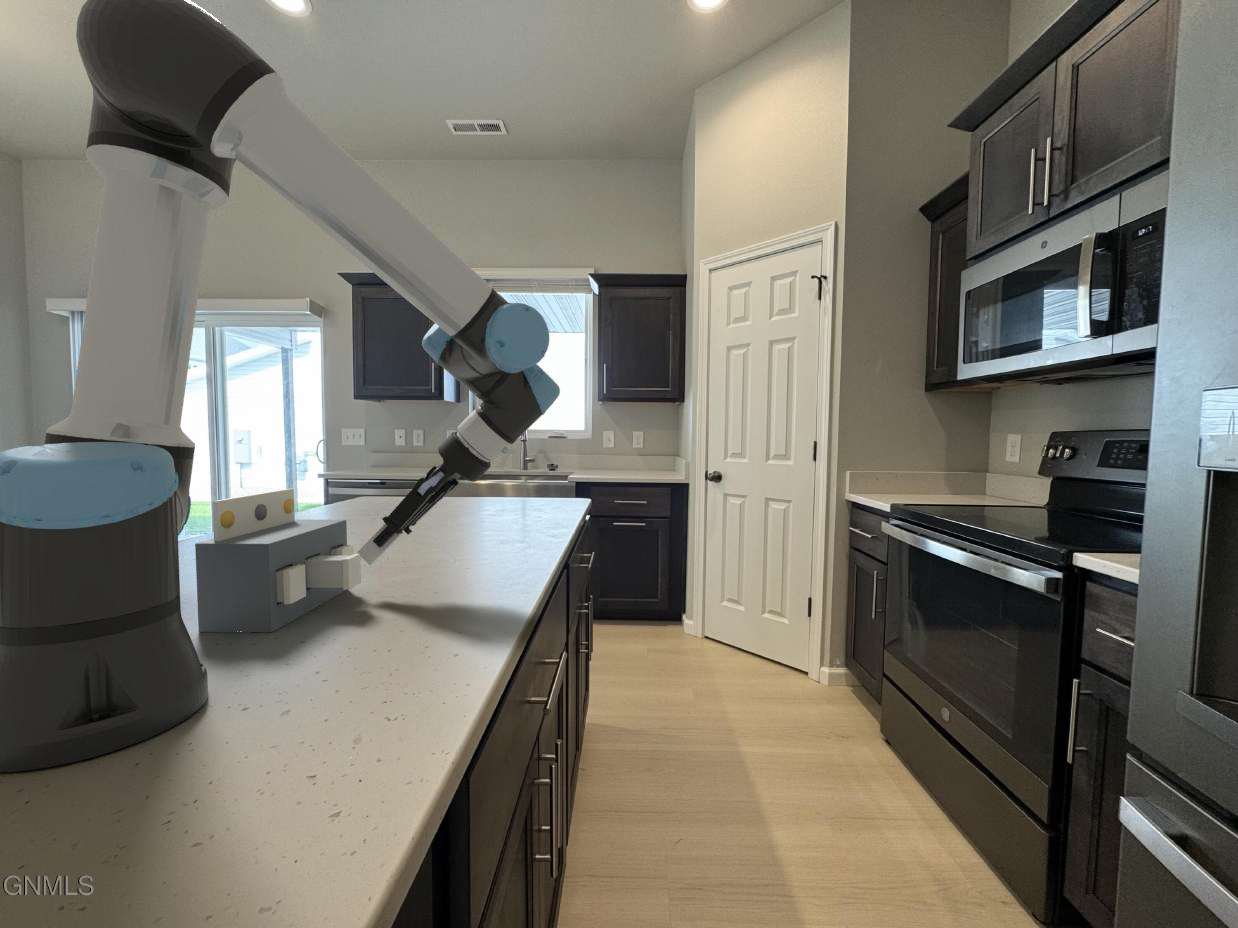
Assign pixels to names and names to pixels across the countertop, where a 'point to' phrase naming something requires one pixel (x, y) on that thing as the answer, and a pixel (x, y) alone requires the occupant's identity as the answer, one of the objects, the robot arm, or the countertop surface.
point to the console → (260, 575)
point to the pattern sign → (252, 513)
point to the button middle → (333, 571)
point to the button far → (343, 550)
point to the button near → (290, 583)
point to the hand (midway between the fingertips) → (365, 557)
